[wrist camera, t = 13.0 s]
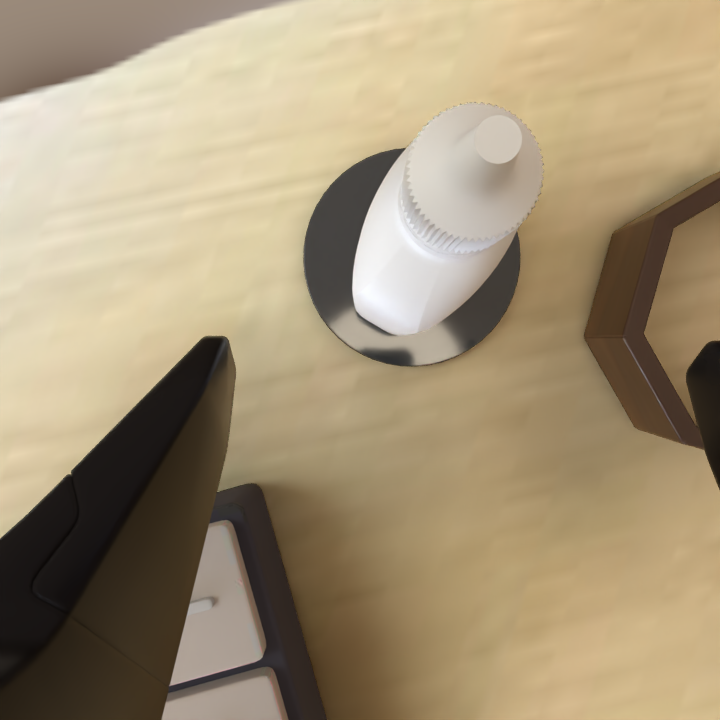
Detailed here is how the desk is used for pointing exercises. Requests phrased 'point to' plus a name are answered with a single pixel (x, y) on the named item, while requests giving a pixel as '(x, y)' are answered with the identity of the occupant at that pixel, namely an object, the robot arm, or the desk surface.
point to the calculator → (242, 626)
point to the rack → (643, 315)
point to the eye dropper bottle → (445, 217)
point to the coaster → (335, 278)
